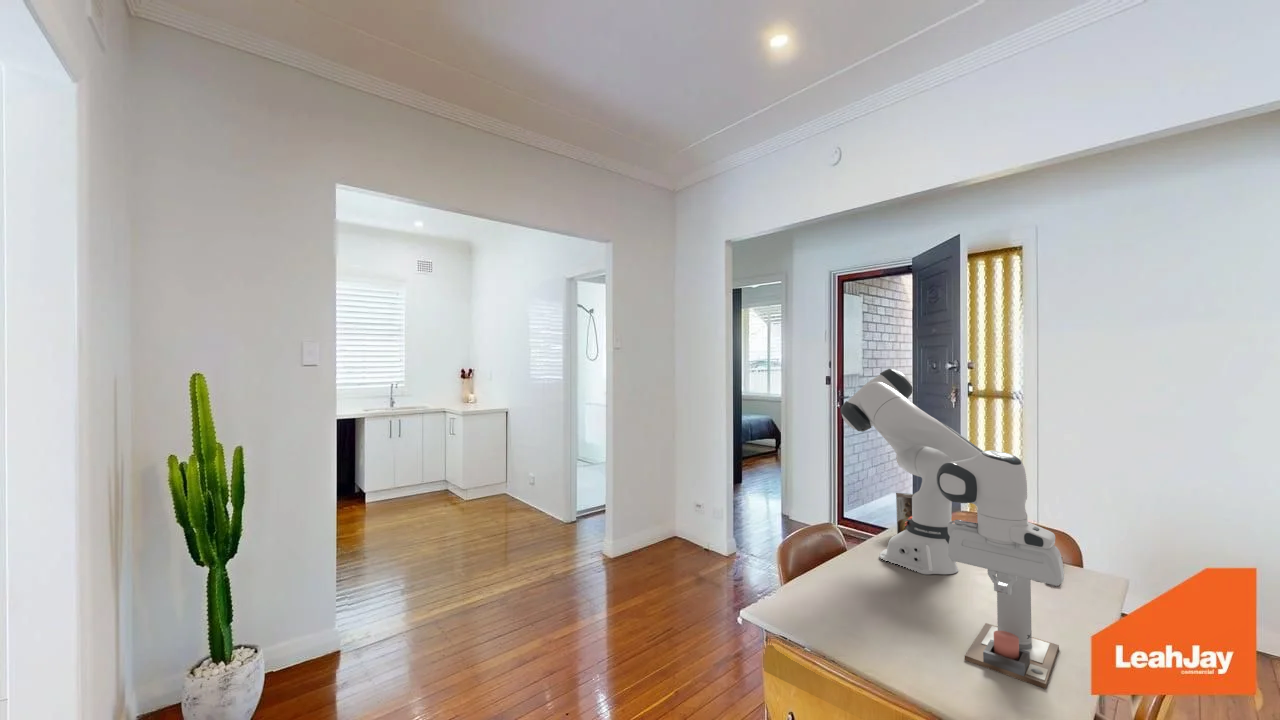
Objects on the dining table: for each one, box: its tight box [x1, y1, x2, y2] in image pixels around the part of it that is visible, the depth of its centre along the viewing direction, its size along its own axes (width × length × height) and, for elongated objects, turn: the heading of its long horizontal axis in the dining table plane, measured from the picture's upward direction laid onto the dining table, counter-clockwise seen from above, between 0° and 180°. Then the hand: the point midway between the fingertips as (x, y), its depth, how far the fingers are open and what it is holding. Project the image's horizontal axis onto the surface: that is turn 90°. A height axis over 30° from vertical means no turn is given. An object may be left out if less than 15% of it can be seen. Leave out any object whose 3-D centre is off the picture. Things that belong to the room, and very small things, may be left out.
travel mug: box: [996, 572, 1033, 649], centre depth 115 cm, size 6×7×20 cm
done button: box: [994, 631, 1019, 660], centre depth 107 cm, size 4×4×4 cm
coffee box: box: [895, 492, 915, 535], centre depth 189 cm, size 9×6×16 cm
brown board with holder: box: [964, 622, 1060, 690], centre depth 112 cm, size 14×20×3 cm
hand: (1002, 592), depth 108 cm, fingers closed
